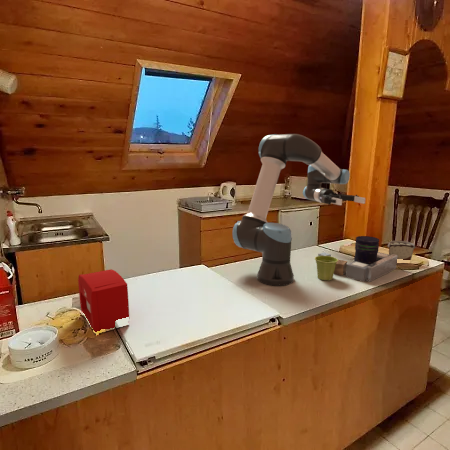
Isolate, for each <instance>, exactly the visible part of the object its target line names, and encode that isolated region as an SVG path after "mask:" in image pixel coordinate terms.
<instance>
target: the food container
mask: <svg viewBox="0 0 450 450" xmlns="http://www.w3.org/2000/svg"><path fill="white" fill-rule="evenodd" d="M387 248H388V254H389V255H392V254H395V255H398V257H397V259H403V260H411V261H412V258H413V253H414V249H416V244H415V243H413V242H410V241H405V240H391V241H389V242H388V243H387Z"/></svg>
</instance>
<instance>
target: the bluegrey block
mask: <svg viewBox="0 0 450 450" xmlns="http://www.w3.org/2000/svg"><path fill="white" fill-rule="evenodd" d="M317 254H318V255H317V256H331V257H332V254H331V253H327V252H324V251H323V252H320V253H317Z"/></svg>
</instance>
